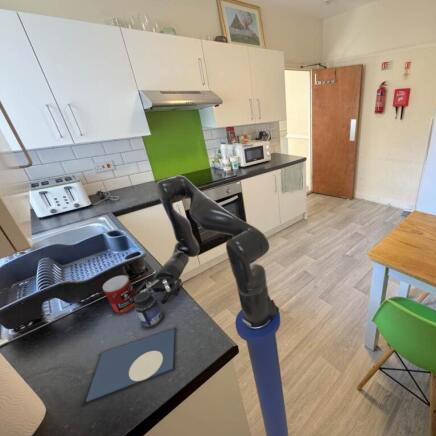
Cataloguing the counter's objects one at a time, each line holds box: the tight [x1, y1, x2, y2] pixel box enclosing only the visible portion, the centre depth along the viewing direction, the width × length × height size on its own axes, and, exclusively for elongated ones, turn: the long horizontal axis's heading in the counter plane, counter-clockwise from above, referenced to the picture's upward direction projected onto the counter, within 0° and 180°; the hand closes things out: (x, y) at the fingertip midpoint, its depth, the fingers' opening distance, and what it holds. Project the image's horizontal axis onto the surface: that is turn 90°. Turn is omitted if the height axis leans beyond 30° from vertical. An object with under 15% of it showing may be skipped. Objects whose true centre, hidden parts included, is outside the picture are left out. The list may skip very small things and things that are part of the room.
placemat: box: [85, 328, 176, 403], centre depth 68 cm, size 20×14×1 cm
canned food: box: [102, 274, 137, 314], centre depth 85 cm, size 8×8×11 cm
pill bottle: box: [134, 291, 164, 328], centre depth 78 cm, size 6×6×11 cm
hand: (149, 303), depth 79 cm, fingers open, 8 cm apart
